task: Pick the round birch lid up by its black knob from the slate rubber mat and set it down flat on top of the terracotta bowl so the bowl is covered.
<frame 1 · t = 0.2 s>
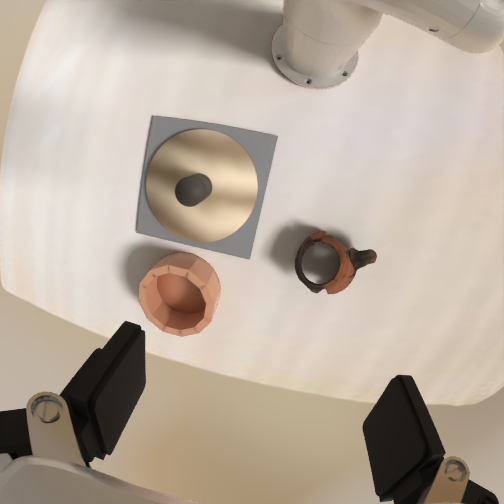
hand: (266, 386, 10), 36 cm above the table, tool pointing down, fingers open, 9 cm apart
mat: (201, 185, 44), on the table
lid: (200, 186, 43), resting on mat
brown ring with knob: (332, 256, 46), on the table
bowl: (185, 285, 50), on the table
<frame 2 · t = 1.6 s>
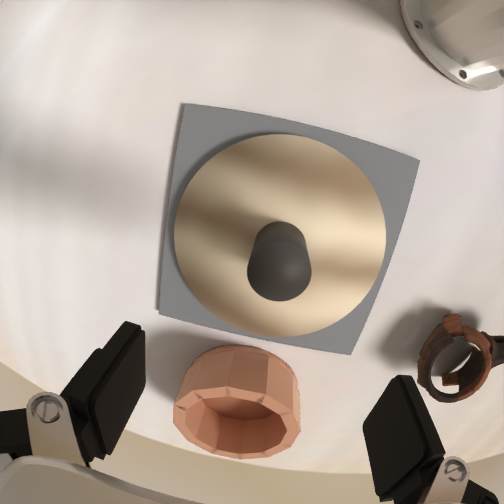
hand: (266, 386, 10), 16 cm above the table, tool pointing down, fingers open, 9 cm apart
mat: (280, 241, 24), on the table
lid: (280, 243, 24), resting on mat
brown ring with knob: (454, 341, 27), on the table
bowl: (242, 387, 30), on the table
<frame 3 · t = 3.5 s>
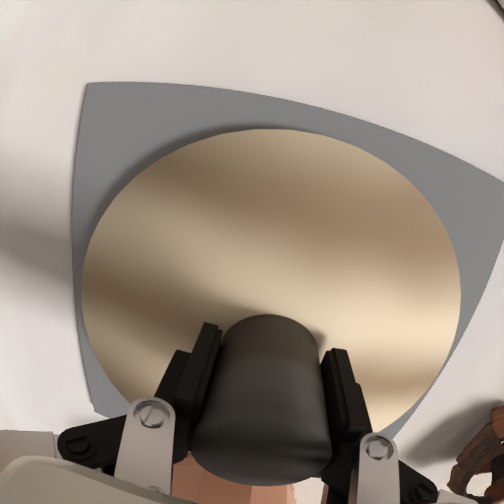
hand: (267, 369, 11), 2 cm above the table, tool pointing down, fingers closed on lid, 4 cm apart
mat: (269, 337, 13), on the table
lid: (269, 344, 12), point 1 cm above the table, touching gripper, mat
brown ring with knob: (495, 427, 15), on the table
bowl: (220, 488, 19), on the table
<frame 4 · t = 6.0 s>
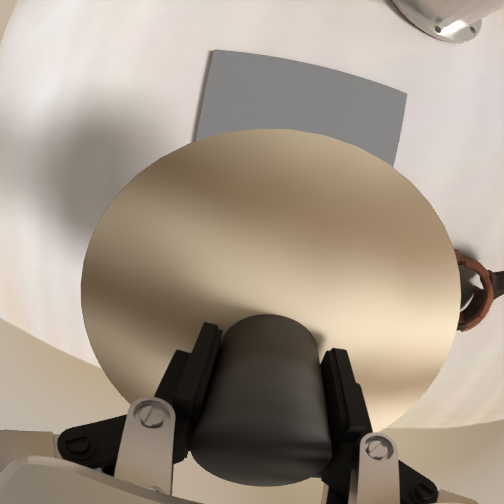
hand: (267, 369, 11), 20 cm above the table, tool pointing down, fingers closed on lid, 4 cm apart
mat: (294, 158, 27), on the table
lid: (269, 344, 12), point 18 cm above the table, touching gripper
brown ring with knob: (456, 279, 30), on the table
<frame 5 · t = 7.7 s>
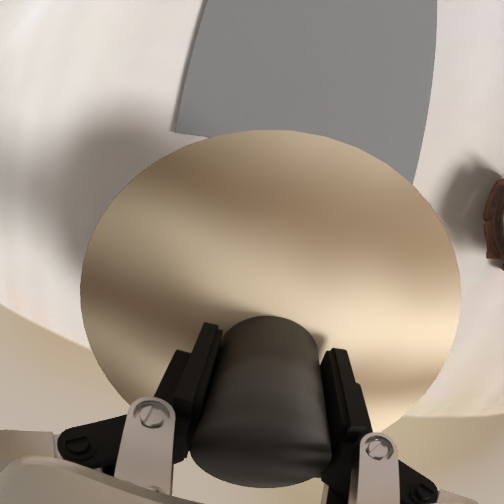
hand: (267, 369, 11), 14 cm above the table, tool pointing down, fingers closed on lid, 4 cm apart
mat: (320, 42, 18), on the table
lid: (268, 345, 12), point 13 cm above the table, touching gripper
when the fingers open (9 cm above the table, at t = 8.9 s): lid drops 1 cm, resting on bowl.
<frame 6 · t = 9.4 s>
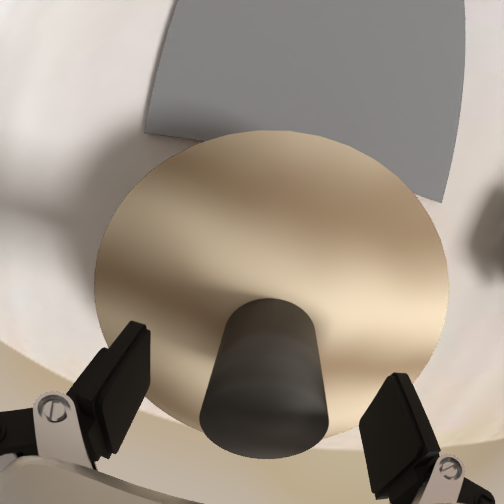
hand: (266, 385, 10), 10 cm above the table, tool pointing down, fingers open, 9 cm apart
mat: (329, 19, 13), on the table
lid: (270, 328, 13), point 6 cm above the table, touching bowl
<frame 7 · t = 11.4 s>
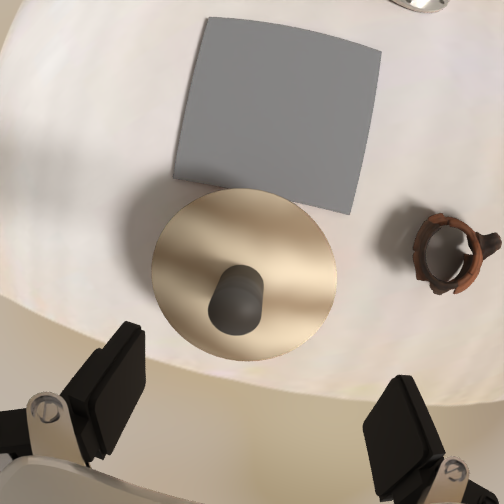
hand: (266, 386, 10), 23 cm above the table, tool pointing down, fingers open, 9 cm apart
mat: (279, 106, 28), on the table
lid: (242, 282, 27), point 6 cm above the table, touching bowl
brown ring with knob: (444, 246, 31), on the table
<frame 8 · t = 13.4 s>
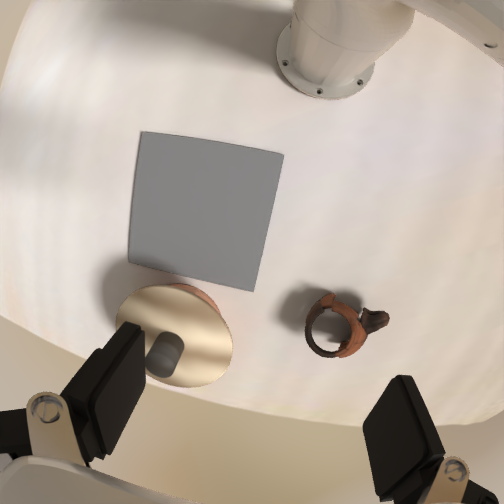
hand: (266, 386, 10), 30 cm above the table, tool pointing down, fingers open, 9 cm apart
mat: (197, 211, 39), on the table
lid: (172, 340, 39), point 6 cm above the table, touching bowl
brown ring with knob: (343, 315, 43), on the table
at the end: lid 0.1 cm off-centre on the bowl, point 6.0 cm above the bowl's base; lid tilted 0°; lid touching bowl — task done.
